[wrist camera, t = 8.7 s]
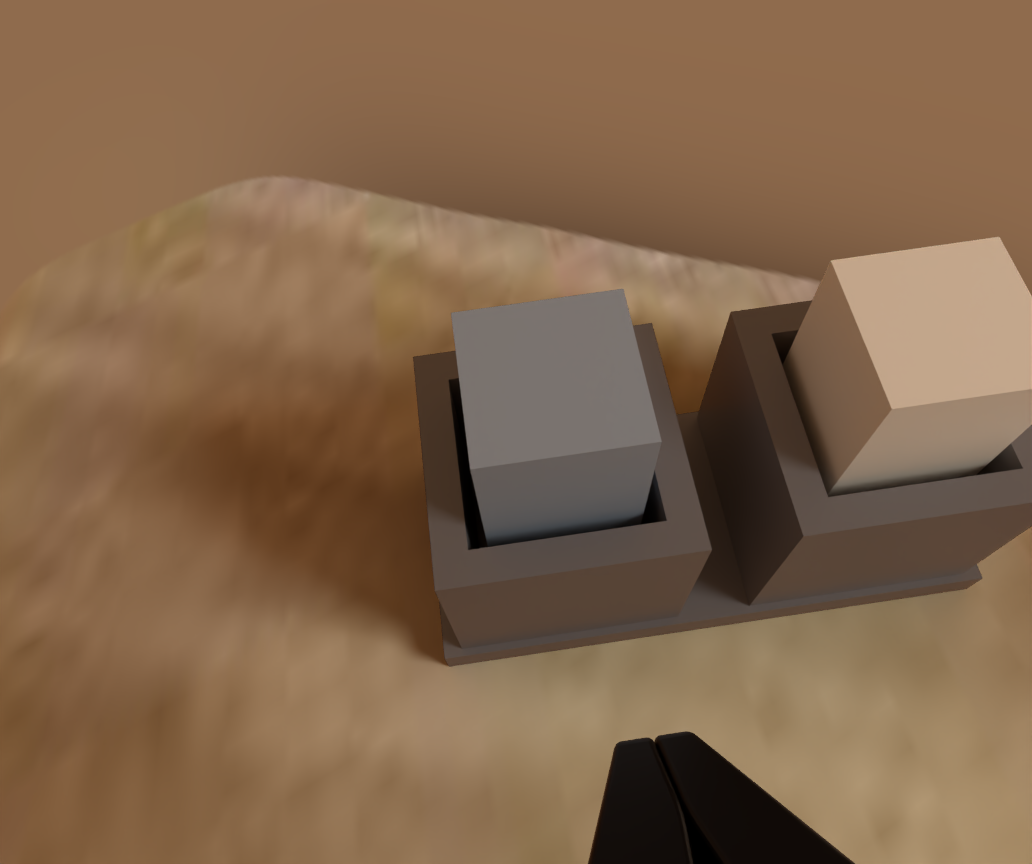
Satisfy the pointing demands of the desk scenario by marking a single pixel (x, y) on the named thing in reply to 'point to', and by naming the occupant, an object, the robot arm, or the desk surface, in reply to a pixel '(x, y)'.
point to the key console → (704, 519)
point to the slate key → (556, 416)
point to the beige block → (913, 365)
